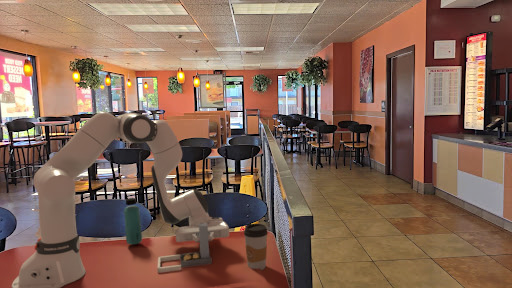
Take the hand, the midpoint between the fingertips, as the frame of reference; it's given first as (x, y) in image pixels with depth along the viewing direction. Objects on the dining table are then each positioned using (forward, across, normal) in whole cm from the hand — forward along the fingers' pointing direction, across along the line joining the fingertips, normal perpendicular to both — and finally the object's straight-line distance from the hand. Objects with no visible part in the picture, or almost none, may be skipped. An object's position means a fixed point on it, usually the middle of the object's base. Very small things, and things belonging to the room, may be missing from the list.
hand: (204, 239), depth 141 cm
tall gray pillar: (-1, 0, +8) cm, 8 cm away
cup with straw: (-24, -59, +10) cm, 65 cm away
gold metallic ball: (-1, -5, +8) cm, 10 cm away
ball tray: (0, -13, +9) cm, 16 cm away
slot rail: (-1, -3, +9) cm, 10 cm away
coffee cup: (+8, +18, +9) cm, 22 cm away
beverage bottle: (-27, -27, +10) cm, 40 cm away
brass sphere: (-1, -2, +8) cm, 8 cm away
